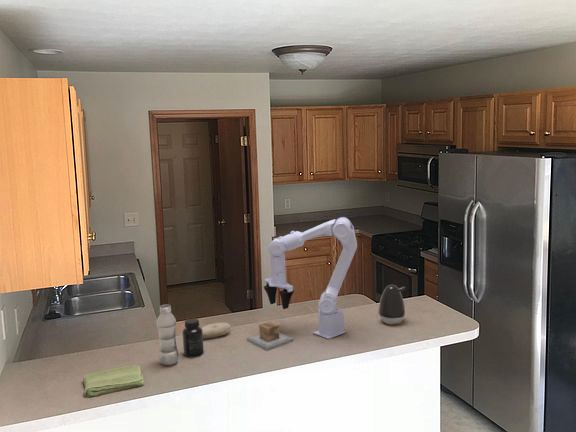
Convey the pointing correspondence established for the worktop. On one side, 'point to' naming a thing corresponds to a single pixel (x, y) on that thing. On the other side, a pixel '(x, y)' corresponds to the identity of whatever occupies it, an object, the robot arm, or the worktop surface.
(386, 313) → the pump dispenser
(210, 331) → the stone
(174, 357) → the plastic bottle
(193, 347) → the supplement bottle
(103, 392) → the washcloth
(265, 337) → the cube
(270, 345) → the grey framed panel
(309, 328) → the worktop surface
